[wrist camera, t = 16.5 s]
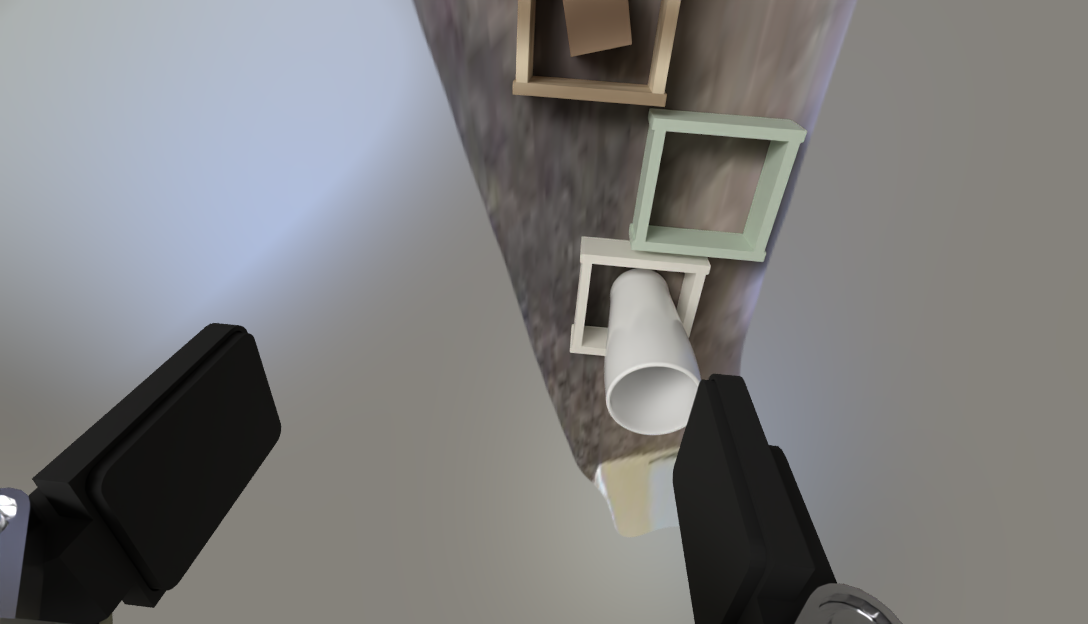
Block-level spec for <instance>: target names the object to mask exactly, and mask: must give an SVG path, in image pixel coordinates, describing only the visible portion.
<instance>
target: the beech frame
mask: <svg viewBox="0 0 1088 624" xmlns="http://www.w3.org/2000/svg"><path fill="white" fill-rule="evenodd" d="M680 2H681V0H661V6H660V12H659V18H658V24H657V31H656V37H655V43H654V49H653V55H652V62H651V68H650V74H649V80H648V85H644V84H631V83H619V82H607V81H594V80H582V79H570V78H557V77H545V76H533V55H534V33H535V11H536V0H518V25H517V59H516V79H515V80H514V81H513V94H516V95H528V96H540V97H553V98H565V99H577V100H589V101H601V102H613V103H625V104H637V105H650V106H662V107H665V102H666V97H667V94H666V92H665V86H666V80H667V75H668V69H669V63H670V58H671V52H672V47H673V41H674V35H675V30H676V24H677V19H678V13H679V7H680Z"/></svg>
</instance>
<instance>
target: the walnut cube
mask: <svg viewBox="0 0 1088 624" xmlns="http://www.w3.org/2000/svg"><path fill="white" fill-rule="evenodd" d="M563 6H564V12H565V19H566V26H567V33H568V40H569V46H570V53H571V57H573V56H577V55H582V54H587V53H592V52H597V51H602V50H607V49H612V48H617V47H621V46H626V45H631V44H632V39H631V27H630V16H629V5H628V0H563Z"/></svg>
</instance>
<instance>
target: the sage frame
mask: <svg viewBox="0 0 1088 624" xmlns="http://www.w3.org/2000/svg"><path fill="white" fill-rule="evenodd" d="M648 121H649V129H648V135H647V141H646V147H645V153H644V159H643V165H642V171H641V177H640V183H639V188H638V194H637V200H636V206H635V212H634V218H633V224H630V228H629V237H630V244H631V250H640V251H651V252H662V253H672V254H683V255H694V256H705V257H715V258H726V259H737V260H748V261H758V262H764V259H765V256H766V252H765V248H766V245H767V242H768V239H769V236H770V233H771V230H772V227H773V224H774V221H775V218H776V215H777V212H778V209H779V206H780V203H781V200H782V197H783V194H784V191H785V188H786V185H787V182H788V179H789V175H790V172H791V169H792V166H793V163H794V160H795V157H796V154H797V151H798V148H799V145H800V142H801V143H803V142H804V139H805V136H806V133H807V130H805V129H804V128H802V127H801V126H799V125H798V124H796V123H795V122H793V121H792V120H788V119H776V118H764V117H751V116H739V115H727V114H715V113H703V112H691V111H679V110H667V109H655V108H649V113H648ZM666 131H671V132H683V133H695V134H706V135H718V136H730V137H742V138H754V139H766V140H771V142H770V145H769V148H768V152H767V155H766V158H765V162H764V165H763V168H762V172H761V175H760V178H759V182H758V185H757V188H756V192H755V195H754V198H753V202H752V205H751V208H750V212H749V215H748V218H747V222H746V225H745V228H744V232H743V234H740V233H729V232H718V231H707V230H696V229H685V228H674V227H663V226H652V225H649V219H650V214H651V209H652V203H653V198H654V193H655V187H656V182H657V177H658V171H659V166H660V161H661V155H662V150H663V145H664V139H665V134H666Z"/></svg>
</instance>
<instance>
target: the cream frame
mask: <svg viewBox="0 0 1088 624" xmlns="http://www.w3.org/2000/svg"><path fill="white" fill-rule="evenodd" d="M580 263H581V269H580V277H579V286H578V295H577V303H576V312H575V321H574V324H572V329H571V343H570V352H571V353H581V354H591V355H601V356H605V348H606V340H607V331H608V328H605V327H595V326H585V325H584V323H585V315H586V307H587V299H588V291H589V284H590V276H591V268H592V264H600V265H611V266H621V267H632V268H643V269H653V270H664V271H674V272H685V276H684V280H683V284H682V288H681V292H680V296H679V300H678V304H677V308H676V310H677V312H678V315H679V317H680V319H681V322H682V324H683V326H684V329H685V331H686V333H687V336H688V338H689V336H690V332H691V328H692V325H693V321H694V317H695V314H696V310H697V306H698V302H699V299H700V295H701V291H702V288H703V284H704V280H705V276H706V275H709V271H710V267H711V265H710V263H709V261H708V258H707V257H705V256H694V255H683V254H672V253H662V252H651V251H640V250H631V244H630V241H627V240H616V239H606V238H595V237H584V236H582V240H581V254H580Z"/></svg>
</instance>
